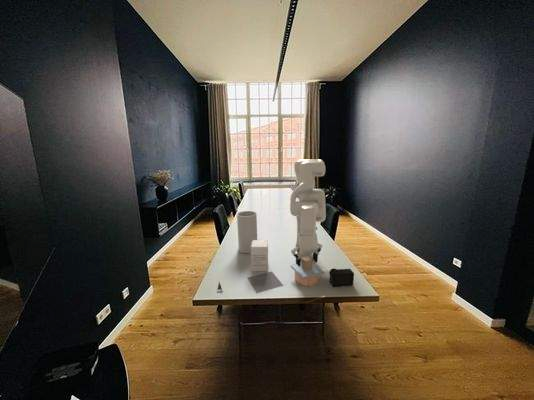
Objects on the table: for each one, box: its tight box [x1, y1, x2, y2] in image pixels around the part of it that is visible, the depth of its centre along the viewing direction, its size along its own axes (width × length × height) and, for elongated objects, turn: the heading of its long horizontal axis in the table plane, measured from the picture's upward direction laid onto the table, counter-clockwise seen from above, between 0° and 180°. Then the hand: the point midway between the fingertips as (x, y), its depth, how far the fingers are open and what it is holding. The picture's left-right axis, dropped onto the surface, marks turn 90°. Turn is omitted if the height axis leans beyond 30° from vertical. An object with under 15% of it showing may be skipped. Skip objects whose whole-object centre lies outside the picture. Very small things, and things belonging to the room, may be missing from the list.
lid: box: [290, 257, 325, 279], centre depth 109 cm, size 12×12×6 cm
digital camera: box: [328, 268, 355, 288], centre depth 108 cm, size 10×5×7 cm, turn 94°
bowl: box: [294, 271, 319, 287], centre depth 111 cm, size 11×11×6 cm
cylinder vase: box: [236, 210, 258, 254], centre depth 144 cm, size 12×12×25 cm
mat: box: [246, 271, 285, 294], centre depth 110 cm, size 14×14×1 cm
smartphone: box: [216, 281, 224, 293], centre depth 111 cm, size 7×1×15 cm
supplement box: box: [250, 239, 269, 272], centre depth 122 cm, size 9×9×15 cm
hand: (306, 263), depth 109 cm, fingers open, 9 cm apart
